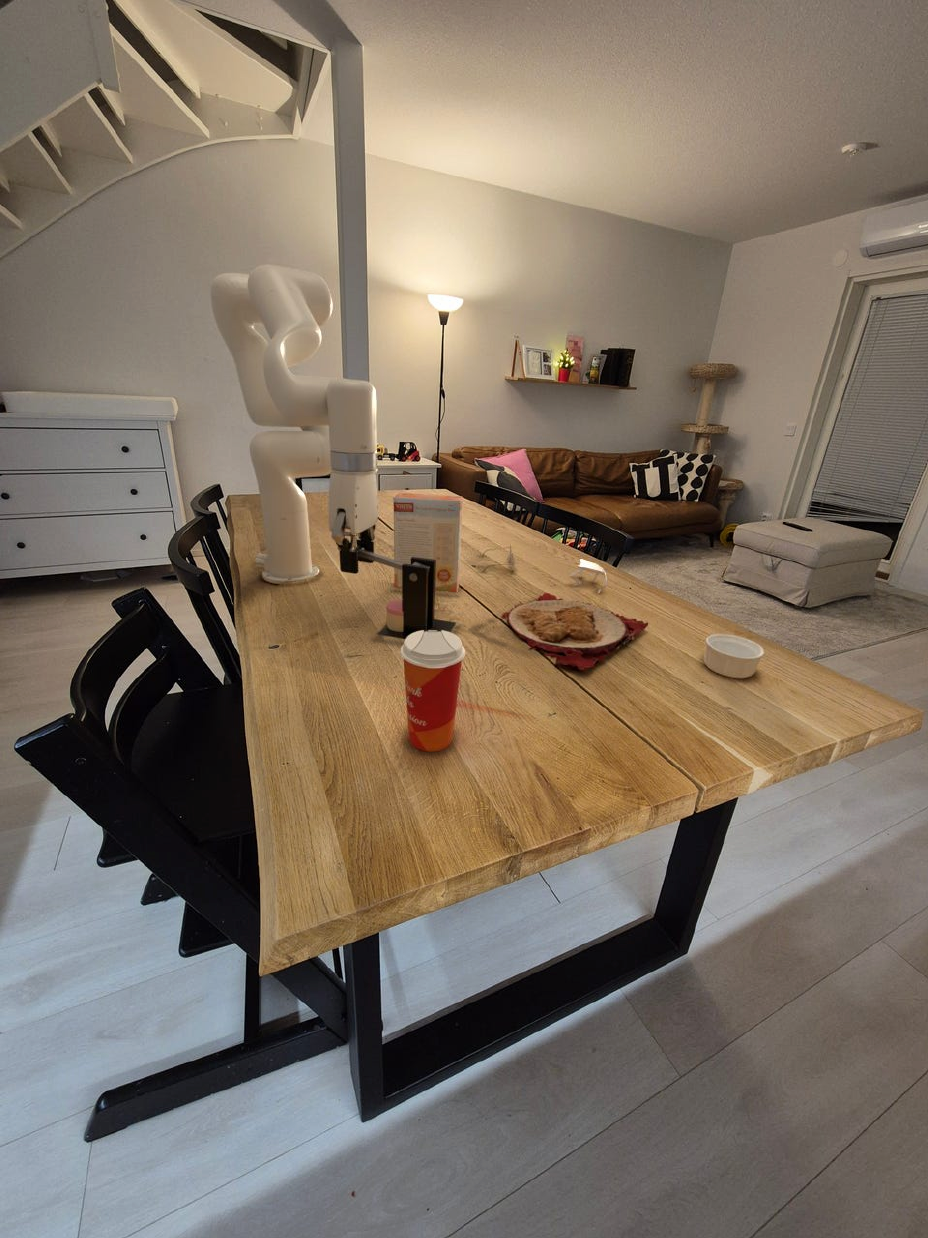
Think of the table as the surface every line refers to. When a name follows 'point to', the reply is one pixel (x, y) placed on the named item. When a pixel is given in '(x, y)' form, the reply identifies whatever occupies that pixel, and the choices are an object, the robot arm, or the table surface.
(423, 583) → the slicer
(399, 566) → the lever
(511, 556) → the eyeglasses
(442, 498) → the cracker box
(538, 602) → the plate with food
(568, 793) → the table surface
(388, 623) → the cake
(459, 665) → the paper cup
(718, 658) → the ramekin
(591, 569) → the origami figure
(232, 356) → the robot arm
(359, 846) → the table surface
